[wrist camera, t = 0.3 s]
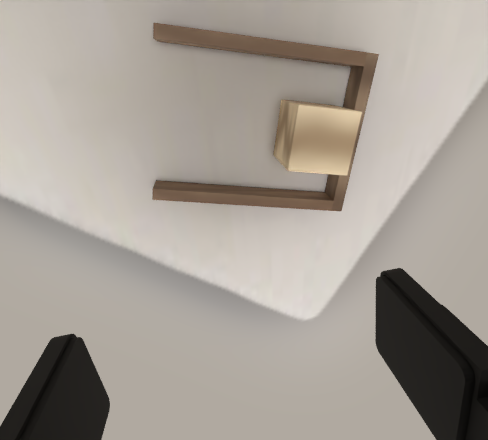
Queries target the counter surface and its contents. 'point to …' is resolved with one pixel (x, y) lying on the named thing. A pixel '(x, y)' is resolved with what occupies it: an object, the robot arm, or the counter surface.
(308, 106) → the light wooden block
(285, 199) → the bay
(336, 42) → the counter surface
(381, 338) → the robot arm
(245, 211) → the counter surface
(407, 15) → the counter surface
